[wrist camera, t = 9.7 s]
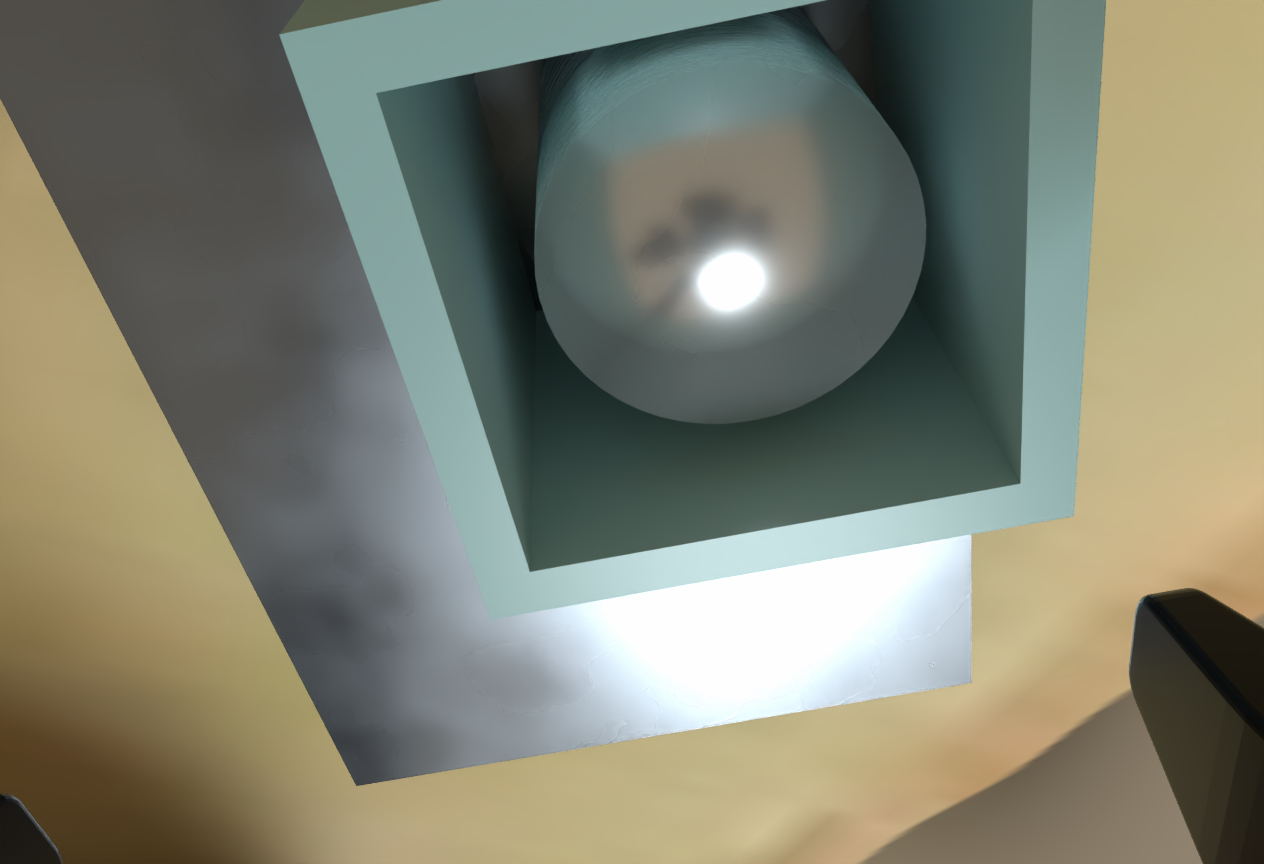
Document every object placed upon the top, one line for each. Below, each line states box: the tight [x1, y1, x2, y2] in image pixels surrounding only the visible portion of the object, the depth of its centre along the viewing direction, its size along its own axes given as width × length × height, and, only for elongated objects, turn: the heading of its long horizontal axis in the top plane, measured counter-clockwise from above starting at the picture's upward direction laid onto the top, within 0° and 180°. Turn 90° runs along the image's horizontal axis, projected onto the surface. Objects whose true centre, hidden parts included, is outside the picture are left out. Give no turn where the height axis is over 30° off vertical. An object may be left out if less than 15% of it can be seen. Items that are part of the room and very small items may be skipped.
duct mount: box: [0, 0, 971, 786], centre depth 17 cm, size 17×13×6 cm
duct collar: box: [279, 0, 1106, 620], centre depth 12 cm, size 7×10×6 cm
